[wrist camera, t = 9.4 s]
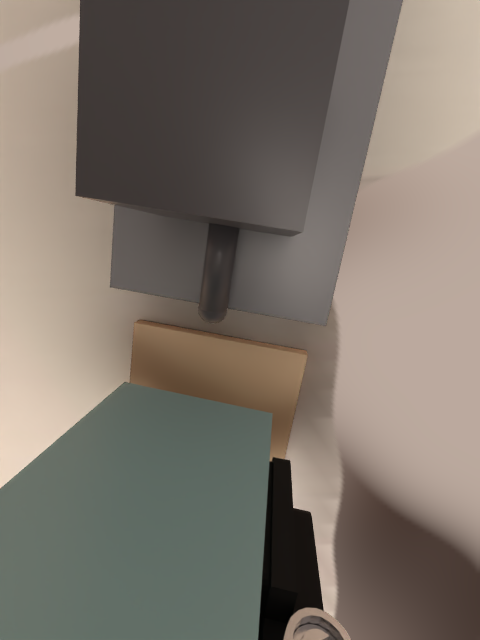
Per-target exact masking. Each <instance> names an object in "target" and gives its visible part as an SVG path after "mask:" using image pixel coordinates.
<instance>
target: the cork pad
mask: <svg viewBox="0 0 480 640" xmlns="http://www.w3.org/2000/svg"><path fill="white" fill-rule="evenodd" d="M307 356H308V354H307V351H305V350H300V349H294V348H289V347H283V346H278V345H273V344H267V343H262V342H257V341H251V340H246V339H240V338H235V337H230V336H224V335H219V334H213V333H208V332H203V331H197V330H192V329H187V328H181V327H176V326H170V325H165V324H160V323H154V322H149V321H144V320H138V321H137V322H135V323H134V332H133V345H132V358H131V372H130V383H132V384H137V385H141V386H146V387H151V388H156V389H160V390H165V391H170V392H174V393H179V394H184V395H189V396H193V397H198V398H203V399H207V400H212V401H217V402H221V403H226V404H231V405H236V406H240V407H245V408H250V409H254V410H259V411H264V412H268V413H273V414H272V429H271V445H270V461H272V458H273V457H276V458H281V459H284V458H285V454H286V449H287V445H288V440H289V436H290V432H291V427H292V423H293V418H294V414H295V409H296V405H297V401H298V396H299V392H300V387H301V383H302V378H303V374H304V370H305V365H306V361H307Z"/></svg>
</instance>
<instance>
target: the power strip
mask: <svg viewBox="0 0 480 640" xmlns="http://www.w3.org/2000/svg"><path fill="white" fill-rule="evenodd" d="M402 2H403V0H80V36H79V76H78V116H77V157H76V196H79V197H83V198H87V199H92V200H96V201H100V202H105V203H109V204H113V205H115V206H114V224H113V243H112V261H111V280H110V287H112V288H117V289H123V290H128V291H134V292H140V293H145V294H151V295H156V296H162V297H167V298H173V299H179V300H184V301H190V302H195V303H199V306H198V311H199V315H200V316H201V318H202V319H203V320H204V321H206V322H208V323H218V322H220V321H221V320H222V319H224V317H225V316H226V313H227V308H229V309H234V310H240V311H245V312H251V313H256V314H262V315H268V316H273V317H279V318H284V319H290V320H295V321H301V322H307V323H312V324H318V325H323V326H326V324H327V320H328V316H329V311H330V307H331V303H332V299H333V294H334V290H335V285H336V281H337V277H338V273H339V269H340V265H341V260H342V256H343V252H344V247H345V243H346V239H347V235H348V231H349V227H350V222H351V217H352V214H353V209H354V205H355V201H356V197H357V193H358V188H359V184H360V180H361V176H362V171H363V167H364V163H365V159H366V154H367V150H368V146H369V142H370V137H371V133H372V129H373V125H374V120H375V116H376V112H377V108H378V103H379V99H380V95H381V91H382V86H383V82H384V78H385V74H386V69H387V65H388V61H389V57H390V52H391V48H392V44H393V40H394V35H395V31H396V27H397V23H398V19H399V14H400V10H401V6H402Z"/></svg>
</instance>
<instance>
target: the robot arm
mask: <svg viewBox="0 0 480 640" xmlns="http://www.w3.org/2000/svg"><path fill="white" fill-rule="evenodd" d="M258 640H351V639H350V637H349V635H348V634H347V632H346V630H345V629H344V628H343V627H342V626H341V624H340V623H339V622H338V621H337V620H336V619H335V618H334V617H332V616H331V615H330V614H328V613H327V612H325V611H324V610H323V602H322V594H321V586H320V578H319V571H318V563H317V555H316V547H315V539H314V531H313V523H312V516H311V513H310V512H308V511H304V510H299V509H295V508H293V498H292V481H291V464H290V460H285V459H281V458H276V457H273V458H272V461H269V476H268V492H267V508H266V523H265V539H264V554H263V570H262V586H261V601H260V617H259V632H258Z"/></svg>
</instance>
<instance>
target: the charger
mask: <svg viewBox="0 0 480 640" xmlns="http://www.w3.org/2000/svg"><path fill="white" fill-rule="evenodd" d="M272 414H273V413H268V412H264V411H259V410H254V409H250V408H245V407H240V406H236V405H231V404H226V403H221V402H217V401H212V400H207V399H203V398H198V397H193V396H189V395H184V394H179V393H174V392H170V391H165V390H160V389H156V388H151V387H146V386H141V385H137V384H132V383H127V382H124V383H123V384H122V385H121V386H119V387H118V388H117V389H116V390H115V391H114V392H112V393H111V394H110V395H109V396H108V397H107V398H105V399H104V400H103V401H102V402H101V403H100V404H98V405H97V406H96V407H95V408H94V409H93V410H91V411H90V412H89V413H88V414H87V415H86V416H84V417H83V418H82V419H81V420H80V421H79V422H77V423H76V424H75V425H74V426H73V427H72V428H70V429H69V430H68V431H67V432H66V433H65V434H63V435H62V436H61V437H60V438H59V439H58V440H56V441H55V442H54V443H53V444H52V445H51V446H49V447H48V448H47V449H46V450H45V451H44V452H42V453H41V454H40V455H39V456H38V457H37V458H35V459H34V460H33V461H32V462H31V463H30V464H28V465H27V466H26V467H25V468H24V469H23V470H21V471H20V472H19V473H18V474H17V475H16V476H14V477H13V478H12V479H11V480H10V481H9V482H7V483H6V484H5V485H4V486H3V487H2V488H0V640H258V632H259V617H260V601H261V586H262V570H263V554H264V539H265V523H266V508H267V492H268V476H269V461H270V445H271V429H272Z"/></svg>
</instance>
